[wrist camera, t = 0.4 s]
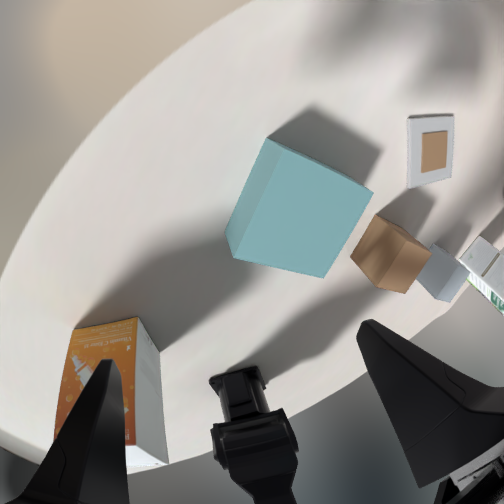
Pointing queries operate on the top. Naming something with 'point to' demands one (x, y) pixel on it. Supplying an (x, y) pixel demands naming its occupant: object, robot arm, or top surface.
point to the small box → (133, 384)
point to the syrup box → (486, 271)
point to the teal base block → (294, 212)
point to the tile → (429, 149)
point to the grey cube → (442, 274)
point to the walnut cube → (389, 255)
